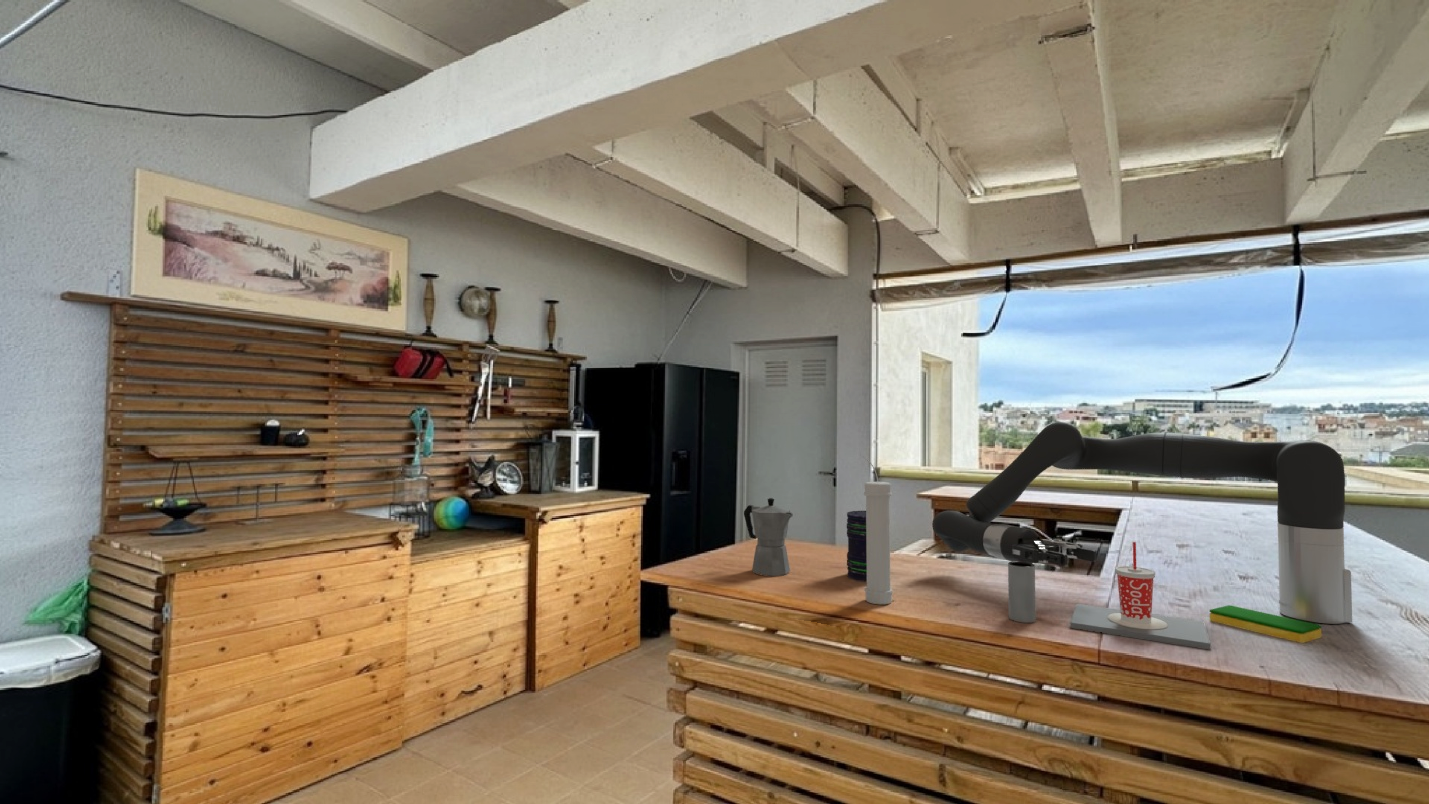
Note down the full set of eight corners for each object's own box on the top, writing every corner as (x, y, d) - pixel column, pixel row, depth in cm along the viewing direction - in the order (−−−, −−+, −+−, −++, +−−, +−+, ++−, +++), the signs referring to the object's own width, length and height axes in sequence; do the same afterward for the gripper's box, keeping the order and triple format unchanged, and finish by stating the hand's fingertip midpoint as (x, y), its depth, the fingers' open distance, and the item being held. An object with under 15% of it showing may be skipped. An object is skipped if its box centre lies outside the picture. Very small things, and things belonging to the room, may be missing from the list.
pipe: (893, 606, 130) (892, 455, 131) (861, 604, 131) (860, 455, 132) (891, 598, 135) (890, 454, 136) (860, 596, 136) (859, 454, 137)
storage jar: (895, 575, 155) (894, 512, 156) (882, 584, 147) (881, 517, 147) (855, 570, 161) (854, 509, 161) (840, 578, 152) (840, 514, 153)
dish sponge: (1229, 617, 124) (1228, 604, 124) (1322, 639, 112) (1322, 624, 112) (1208, 622, 121) (1208, 609, 121) (1302, 645, 108) (1302, 630, 108)
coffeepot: (804, 573, 157) (804, 498, 158) (779, 580, 151) (779, 502, 151) (757, 563, 168) (757, 493, 169) (731, 569, 162) (731, 496, 162)
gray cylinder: (1024, 624, 118) (1024, 567, 118) (1003, 617, 122) (1002, 562, 122) (1041, 620, 120) (1040, 565, 120) (1019, 614, 124) (1018, 560, 125)
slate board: (1203, 626, 117) (1203, 619, 117) (1210, 649, 105) (1210, 642, 105) (1076, 608, 128) (1076, 602, 128) (1070, 627, 116) (1070, 621, 116)
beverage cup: (1112, 620, 116) (1111, 542, 117) (1119, 613, 121) (1118, 537, 121) (1153, 628, 112) (1151, 546, 113) (1159, 619, 117) (1157, 541, 117)
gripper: (987, 528, 138) (1056, 541, 123) (1033, 523, 144) (1105, 536, 129) (987, 563, 138) (1056, 581, 123) (1034, 557, 144) (1105, 574, 129)
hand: (1081, 558), depth 126 cm, fingers open, 8 cm apart
